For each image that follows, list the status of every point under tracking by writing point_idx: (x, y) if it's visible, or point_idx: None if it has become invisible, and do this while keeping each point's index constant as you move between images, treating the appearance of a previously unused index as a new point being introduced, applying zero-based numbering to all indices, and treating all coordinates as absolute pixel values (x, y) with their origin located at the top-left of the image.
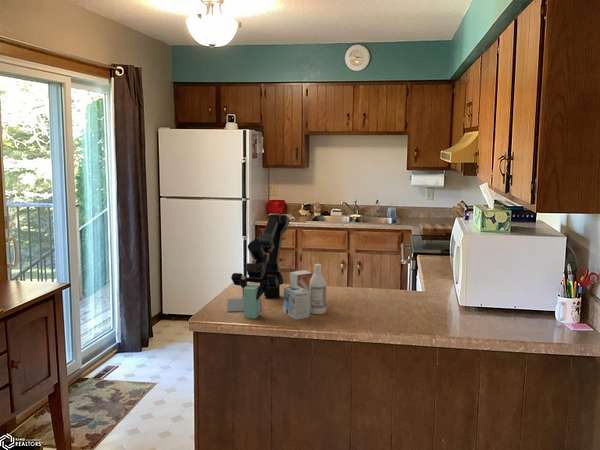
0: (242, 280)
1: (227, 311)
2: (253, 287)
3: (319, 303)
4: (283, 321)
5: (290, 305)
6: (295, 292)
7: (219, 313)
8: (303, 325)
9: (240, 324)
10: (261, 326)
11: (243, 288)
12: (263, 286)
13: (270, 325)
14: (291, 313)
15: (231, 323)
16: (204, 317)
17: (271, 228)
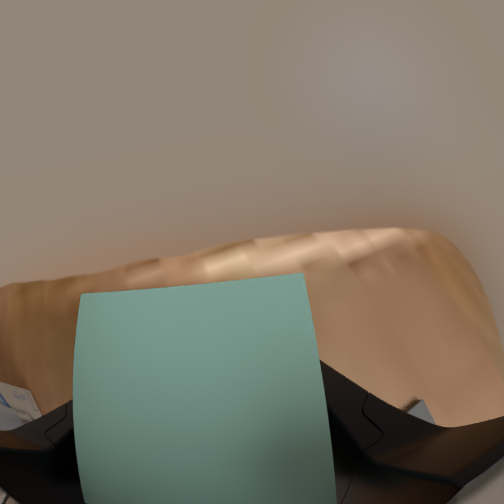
0: (491, 436)
1: (419, 401)
2: (133, 393)
3: None
4: (60, 358)
5: (6, 421)
6: None
7: (440, 361)
8: (7, 324)
9: (242, 253)
10: (135, 264)
11: (300, 273)
12: (12, 433)
13: (100, 289)
14: (30, 416)
15: (294, 250)
16: (451, 275)
17: None
